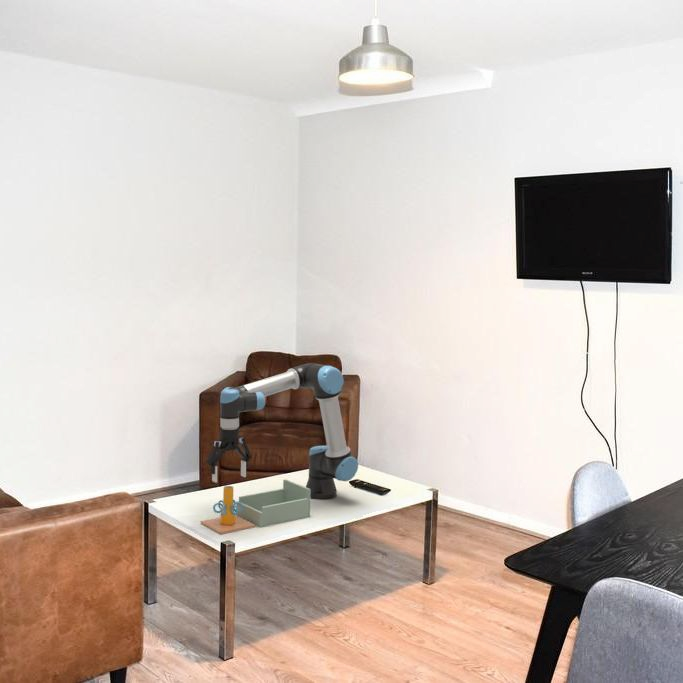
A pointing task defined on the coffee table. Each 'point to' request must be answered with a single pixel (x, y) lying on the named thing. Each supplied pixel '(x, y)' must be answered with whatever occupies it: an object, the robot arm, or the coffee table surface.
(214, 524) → the terracotta tile
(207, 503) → the coffee table surface
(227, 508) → the orange tube
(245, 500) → the box
